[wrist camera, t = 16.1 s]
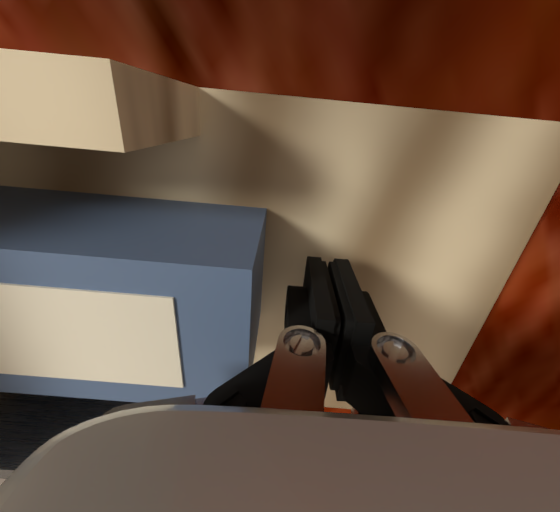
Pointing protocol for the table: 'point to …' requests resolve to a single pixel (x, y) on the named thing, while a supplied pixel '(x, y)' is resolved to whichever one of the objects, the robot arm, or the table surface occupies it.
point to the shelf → (301, 182)
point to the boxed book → (126, 294)
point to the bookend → (40, 422)
